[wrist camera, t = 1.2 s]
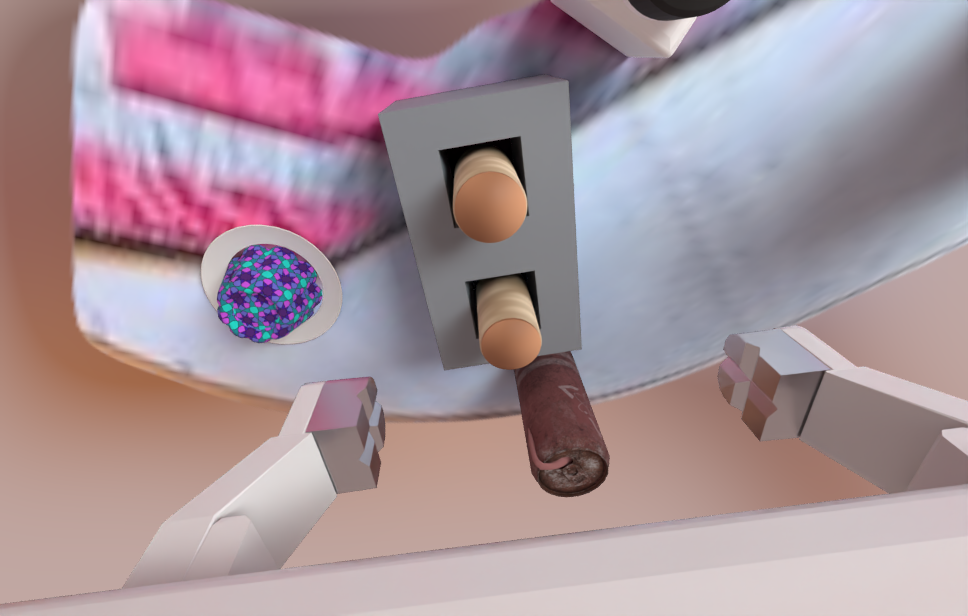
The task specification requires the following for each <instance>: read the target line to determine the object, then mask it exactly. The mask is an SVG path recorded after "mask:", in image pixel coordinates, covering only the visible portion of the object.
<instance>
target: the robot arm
mask: <svg viewBox="0 0 968 616" xmlns="http://www.w3.org/2000/svg"><path fill="white" fill-rule="evenodd" d="M723 350H724V351H725V353H726V354H727V356H728V357H727V358H726V359H725V360H724V361H723V362H722V363H721V364H720V367H719V372H718V382H719V388H720V390H721V392H722V394H723V396H724V398H725V399H726V400H727V402H728V403H729V404H730V405H731V406H733V407H735V408H737V409H739V410H741V411H742V418H741V419H742V420H743V422H744V423H745V424H746V425H747V426H748V427H749V429H750V430H751V431H752V432H753V433H754V435H755V436H756V437H757V438H758V440H759V441H768V440H779V439H790V438H799V439H800V440H801V441H803V442H804V443H806V444H808V445H809V446H811V447H813V448H814V449H816V450H818V451H819V452H821V453H823V454H824V455H826V456H827V457H829V458H831V459H833V460H834V461H836V462H837V463H839V464H841V465H843V466H844V467H846V468H847V469H849V470H851V471H853V472H854V473H856V474H858V475H859V476H861V477H862V478H864V479H866V480H868V481H869V482H871V483H872V484H874V485H876V486H878V487H879V488H881V489H882V490H884V491H886V492H887V493H889V494H882V495H874V496H866V497H858V498H850V499H842V500H834V501H825V502H817V503H809V504H801V505H793V506H785V507H777V508H769V509H761V510H753V511H745V512H737V513H729V514H721V515H713V516H704V517H696V518H689V519H680V520H672V521H664V522H656V523H648V524H641V525H632V526H624V527H616V528H608V529H600V530H592V531H584V532H575V533H568V534H559V535H552V536H543V537H535V538H527V539H520V540H512V541H503V542H495V543H487V544H479V545H471V546H463V547H455V548H447V549H439V550H431V551H424V552H414V553H406V554H398V555H390V556H383V557H374V558H366V559H359V560H350V561H342V562H335V563H326V564H318V565H311V566H302V567H294V568H286V569H281V567H282V566H283V565H284V563H285V562H286V561H287V559H288V558H289V557H290V556H291V554H292V553H293V552H294V551H295V549H296V548H297V547H298V545H299V544H300V543H301V542H302V540H303V539H304V538H305V536H306V535H307V534H308V533H309V531H310V530H311V529H312V528H313V526H314V525H315V524H316V523H317V521H318V520H319V519H320V517H321V516H322V515H323V514H324V512H325V511H326V510H327V508H328V507H329V506H330V505H331V503H332V502H333V501H334V500H335V498H336V497H337V494H340V493H346V492H353V491H359V490H366V489H372V488H377V482H378V477H379V471H380V465H381V461H380V458H379V454H378V452H379V451H380V450H381V449H382V448H383V447H384V440H385V419H384V413H383V409H382V405H380V404H379V403H378V402H376V401H375V399H376V395H377V388H376V385H375V382H374V379H373V378H372V377H361V378H351V379H340V380H330V381H322V382H312V383H305V384H304V385H302V386H301V387H300V389H299V391H298V394H297V396H296V398H295V400H294V402H293V404H292V407H291V409H290V411H289V413H288V415H287V418H286V420H285V422H284V424H283V426H282V429H281V431H280V433H279V435H278V436H277V437H271V438H269V439H268V440H267V441H266V442H264V443H263V444H262V445H261V446H259V447H258V448H257V449H256V450H254V451H253V452H252V453H251V454H249V455H248V456H247V457H245V458H244V459H243V460H242V461H240V462H239V463H238V464H236V465H235V466H234V467H233V468H231V469H230V470H229V471H228V472H226V473H225V474H224V475H223V476H221V477H220V478H219V479H217V480H216V481H215V482H214V483H213V484H211V485H210V486H209V487H207V488H206V489H205V490H204V491H202V492H201V493H200V494H198V495H197V496H196V497H195V498H193V499H192V500H191V501H190V502H188V503H187V504H186V505H185V506H183V507H182V508H181V509H180V510H178V511H177V512H176V513H174V514H173V515H172V516H171V517H169V518H168V519H167V520H166V521H164V522H163V523H162V524H161V526H160V528H159V529H158V531H157V533H156V534H155V536H154V537H153V539H152V541H151V543H150V544H149V545H148V547H147V549H146V550H145V552H144V553H143V555H142V557H141V558H140V560H139V561H138V563H137V565H136V566H135V568H134V570H133V571H132V573H131V574H130V576H129V578H128V579H127V581H126V583H125V584H124V586H123V587H122V589H118V590H109V591H102V592H93V593H85V594H77V595H70V596H61V597H54V598H45V599H37V600H29V601H21V602H13V603H5V604H0V616H968V401H966V400H963V399H960V398H957V397H954V396H951V395H948V394H945V393H942V392H940V391H937V390H933V389H931V388H928V387H924V386H922V385H919V384H915V383H913V382H910V381H907V380H903V379H900V378H897V377H895V376H892V375H889V374H886V373H883V372H880V371H877V370H874V369H871V368H868V367H865V366H864V367H856V366H855V365H854V364H852V363H851V362H850V361H848V360H847V359H846V358H844V357H843V356H842V355H840V354H839V353H838V352H836V351H835V350H833V349H832V348H831V347H830V346H828V345H827V344H825V343H824V342H823V341H822V340H820V339H819V338H817V337H816V336H815V335H814V334H812V333H811V332H809V331H808V330H807V329H805V328H804V327H801V326H797V325H794V326H788V327H781V328H774V329H772V330H764V331H755V332H747V333H739V334H731V335H729V336H728V338H727V339H726V341H725V345H724V349H723Z"/></svg>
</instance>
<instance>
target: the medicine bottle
mask: <svg viewBox="0 0 968 616" xmlns="http://www.w3.org/2000/svg"><path fill="white" fill-rule="evenodd" d="M550 1H551V2H552V3H553V4H554V5H556V6H557V7H558V8H560V9H561V10H563V11H564V12H565V13H567V14H568V15H570V16H571V17H572V18H574V19H575V20H577V21H578V22H579V23H581V24H582V25H584V26H585V27H586V28H588V29H589V30H591V31H592V32H593V33H595V34H596V35H598V36H599V37H600V38H602V39H603V40H605V41H606V42H607V43H609V44H610V45H611V46H613V47H614V48H616V49H617V50H618V51H620V52H621V53H623V54H624V55H625V56H627V57H639V58H668V57H670V56H671V55H672V54H673V53H674V52H675V50H676V49H677V47H678V46H679V44H680V42H681V41H682V39H683V38H684V36H685V35H686V33H687V32H688V30H689V29H690V27H691V26H692V24H693V23H694V21H695V20H696V18H697V17H698V16H701V15H705V14H708V13H710V12H712V11H715V10H716V9H718V8H720V7H721V6H723V5H724V4H726V3H727V2H728V1H730V0H550Z"/></svg>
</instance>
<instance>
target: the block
mask: <svg viewBox="0 0 968 616" xmlns="http://www.w3.org/2000/svg"><path fill="white" fill-rule="evenodd" d="M378 116H379V120H380V124H381V128H382V132H383V135H384V139H385V143H386V147H387V151H388V155H389V159H390V163H391V166H392V170H393V174H394V178H395V182H396V186H397V190H398V193H399V197H400V201H401V205H402V209H403V213H404V217H405V220H406V224H407V228H408V232H409V236H410V240H411V244H412V248H413V251H414V255H415V259H416V263H417V267H418V271H419V275H420V278H421V282H422V286H423V290H424V294H425V298H426V302H427V305H428V309H429V313H430V317H431V321H432V325H433V329H434V333H435V336H436V340H437V344H438V348H439V352H440V356H441V360H442V363H443V367H444V370H450V369H456V368H463V367H469V366H476V365H482V364H489V362H488V361H487V360H486V359H485V357H484V356H483V355H482V353H481V350H480V343H479V328H478V313H477V298H476V290H473V285H472V281H473V280H479V279H485V278H491V277H498V276H504V275H510V274H516V273H522V272H526V276H527V281H526V284H527V288H528V291H529V295H530V298H531V301H532V305H533V308H534V312H535V315H536V319H537V322H538V326H539V329H540V333H541V337H542V345H541V348H540V351H539V354H538V355H537V356H541V355H547V354H554V353H560V352H567V351H573V350H580V349H582V347H581V326H580V306H579V285H578V265H577V245H576V224H575V204H574V183H573V163H572V143H571V122H570V102H569V81H568V80H565V79H561V78H557V77H553V76H549V75H545V74H544V75H538V76H532V77H527V78H521V79H516V80H510V81H504V82H499V83H493V84H488V85H482V86H476V87H471V88H465V89H460V90H454V91H448V92H443V93H437V94H431V95H426V96H420V97H415V98H409V99H403V100H398V101H395V102H394V103H392V104H391V105H390V106H388V107H387V108H386V109H384V110H383V111H382V112H380V113H379V114H378ZM506 138H510V140H511V149H512V157H513V166H514V170H515V172H516V174H517V176H518V178H519V180H520V182H521V185H522V187H523V189H524V191H525V194H526V197H527V213H526V217H525V220H524V222H523V224H522V225H521V227H520V228H519V229H518V230H517V231H516V233H514V234H513V235H512V236H511V237H509V238H507V239H505V240H503V241H500V242H496V243H483V242H479V241H476V240H474V239H472V238H470V237H469V236H467V235H466V234H465V233H464V232H463V231H462V230H461V229H460V228H459V226H458V224H457V223H456V220H455V218H454V214H453V191H454V185H453V180H452V175H451V170H450V164H449V159H448V154H447V149H449V148H454V147H460V146H466V145H472V144H478V143H483V142H489V141H495V140H501V139H506Z"/></svg>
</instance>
